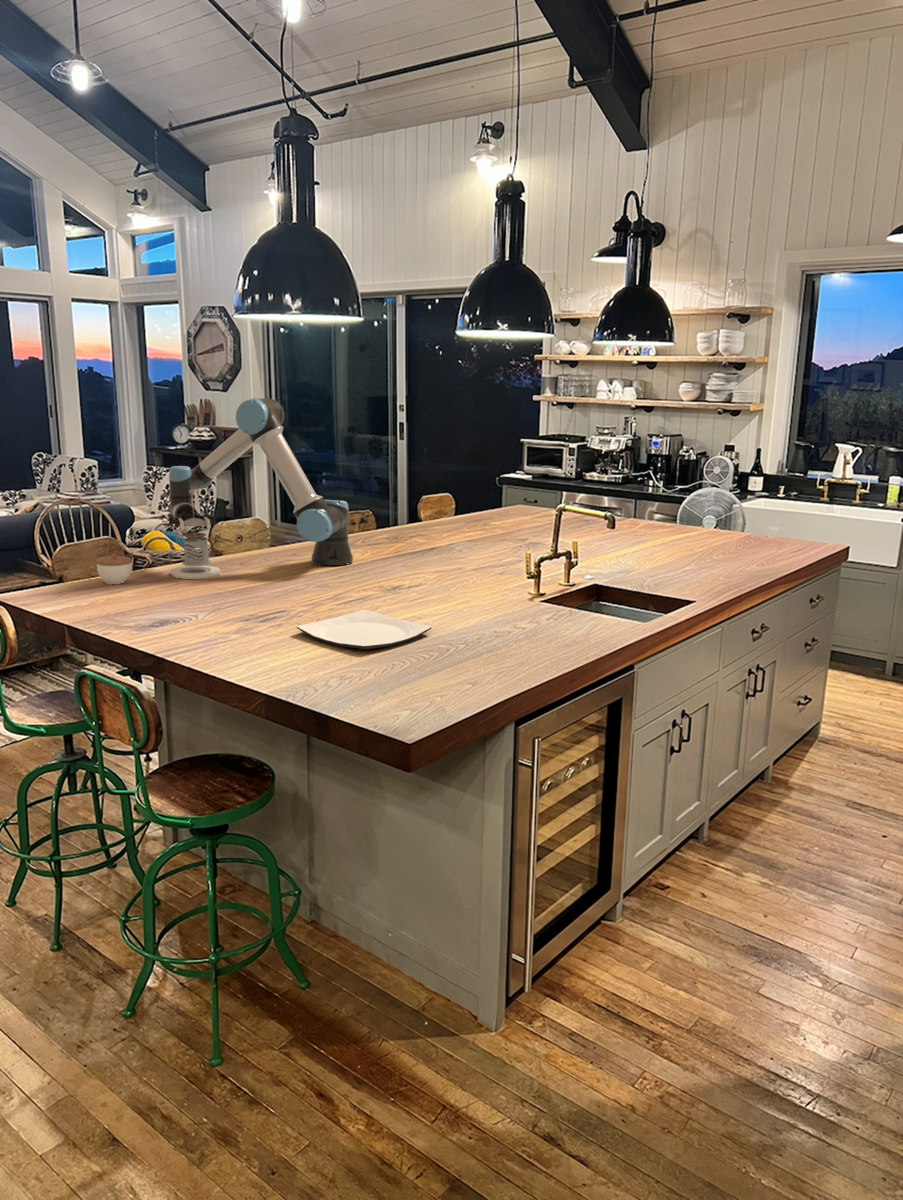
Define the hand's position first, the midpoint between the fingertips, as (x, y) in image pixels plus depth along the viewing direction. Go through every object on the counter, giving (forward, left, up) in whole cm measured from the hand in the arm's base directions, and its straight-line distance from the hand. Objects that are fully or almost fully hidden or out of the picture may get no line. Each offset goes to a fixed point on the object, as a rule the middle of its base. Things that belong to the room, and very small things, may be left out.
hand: (195, 524), depth 303 cm
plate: (-87, +15, -18) cm, 90 cm away
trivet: (+4, -2, -18) cm, 19 cm away
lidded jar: (+13, +23, -18) cm, 32 cm away
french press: (+4, -2, -14) cm, 15 cm away
